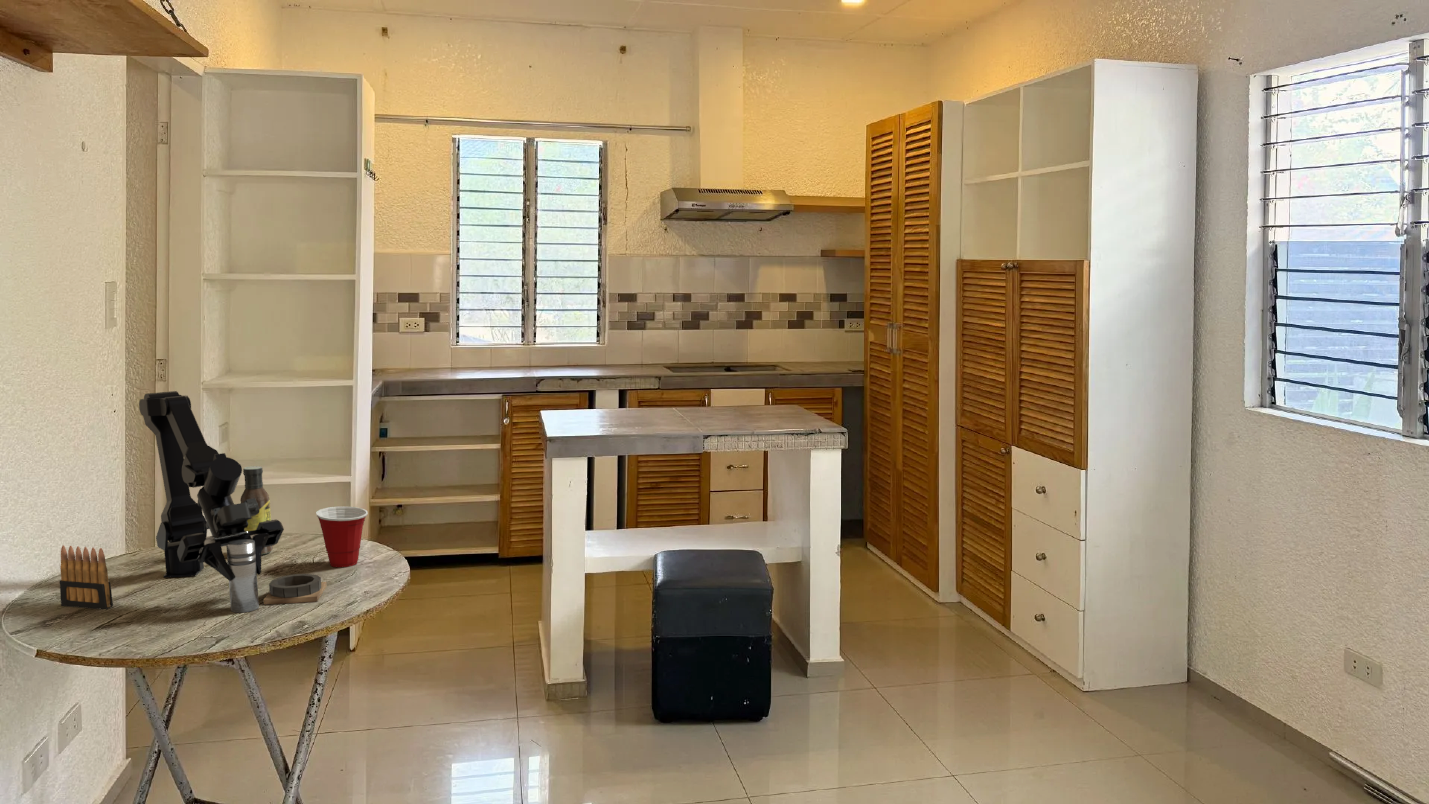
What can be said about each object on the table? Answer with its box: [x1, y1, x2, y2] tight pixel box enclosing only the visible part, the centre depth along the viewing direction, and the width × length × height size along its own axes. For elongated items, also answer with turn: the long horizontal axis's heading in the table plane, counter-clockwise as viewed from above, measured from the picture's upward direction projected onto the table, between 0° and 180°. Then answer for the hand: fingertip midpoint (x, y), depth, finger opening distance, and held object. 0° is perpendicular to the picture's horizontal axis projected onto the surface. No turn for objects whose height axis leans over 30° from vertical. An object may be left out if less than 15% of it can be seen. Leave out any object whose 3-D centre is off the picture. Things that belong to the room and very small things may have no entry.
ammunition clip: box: [59, 544, 114, 610], centre depth 214 cm, size 11×2×12 cm, turn 76°
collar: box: [263, 573, 328, 605], centre depth 220 cm, size 10×10×3 cm
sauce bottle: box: [239, 465, 273, 556], centre depth 251 cm, size 6×6×20 cm
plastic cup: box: [315, 505, 369, 568], centre depth 242 cm, size 11×11×12 cm
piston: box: [225, 539, 260, 614], centre depth 212 cm, size 5×5×13 cm
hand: (245, 576), depth 211 cm, fingers closed on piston, 5 cm apart
